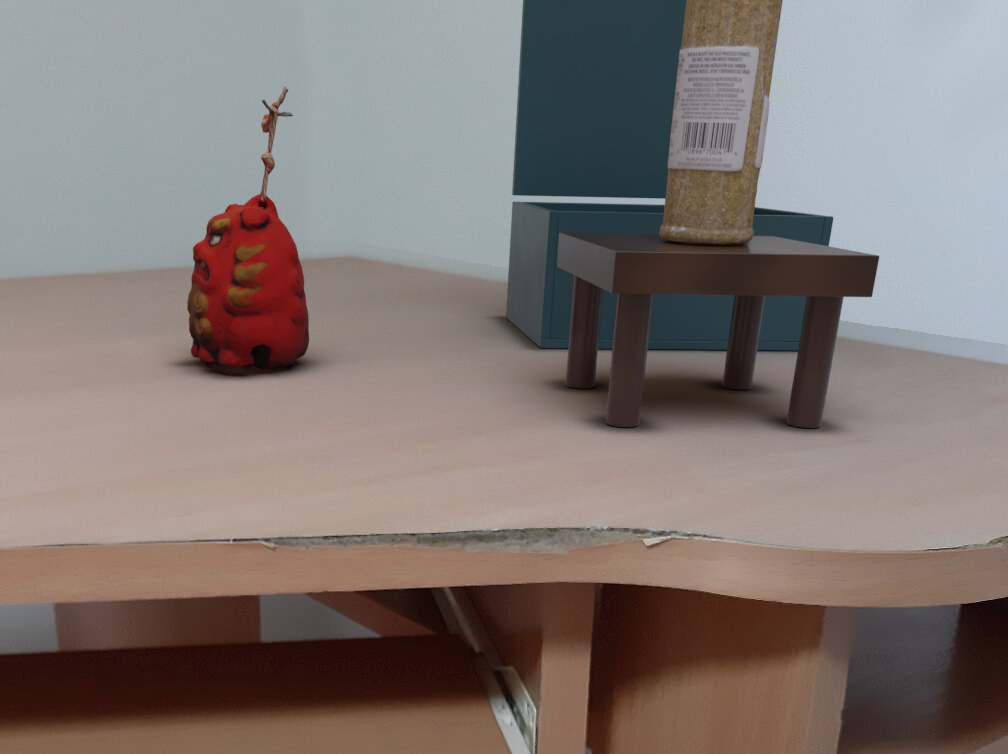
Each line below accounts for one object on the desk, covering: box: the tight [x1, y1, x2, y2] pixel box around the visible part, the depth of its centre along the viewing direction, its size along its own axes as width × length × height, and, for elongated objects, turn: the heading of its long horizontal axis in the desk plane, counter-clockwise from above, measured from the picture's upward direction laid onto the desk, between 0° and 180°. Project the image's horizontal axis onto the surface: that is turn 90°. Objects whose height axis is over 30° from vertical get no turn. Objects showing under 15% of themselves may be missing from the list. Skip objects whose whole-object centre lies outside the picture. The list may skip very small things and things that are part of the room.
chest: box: [505, 201, 834, 352], centre depth 76 cm, size 14×19×9 cm
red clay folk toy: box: [186, 86, 310, 373], centre depth 60 cm, size 8×7×15 cm
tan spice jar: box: [659, 0, 782, 245], centre depth 50 cm, size 5×5×13 cm
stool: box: [557, 232, 880, 429], centre depth 54 cm, size 12×12×8 cm
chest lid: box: [511, 0, 784, 200], centre depth 78 cm, size 15×19×1 cm
